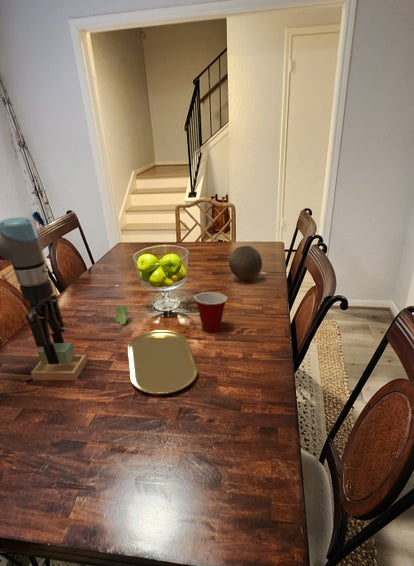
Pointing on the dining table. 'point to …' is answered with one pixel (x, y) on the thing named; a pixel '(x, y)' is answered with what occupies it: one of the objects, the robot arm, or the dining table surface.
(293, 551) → the dining table surface
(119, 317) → the seedling
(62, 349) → the green rectangular block
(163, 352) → the serving platter
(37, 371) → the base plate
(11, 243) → the robot arm
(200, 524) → the dining table surface
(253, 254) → the dark grey ball
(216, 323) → the plastic cup
